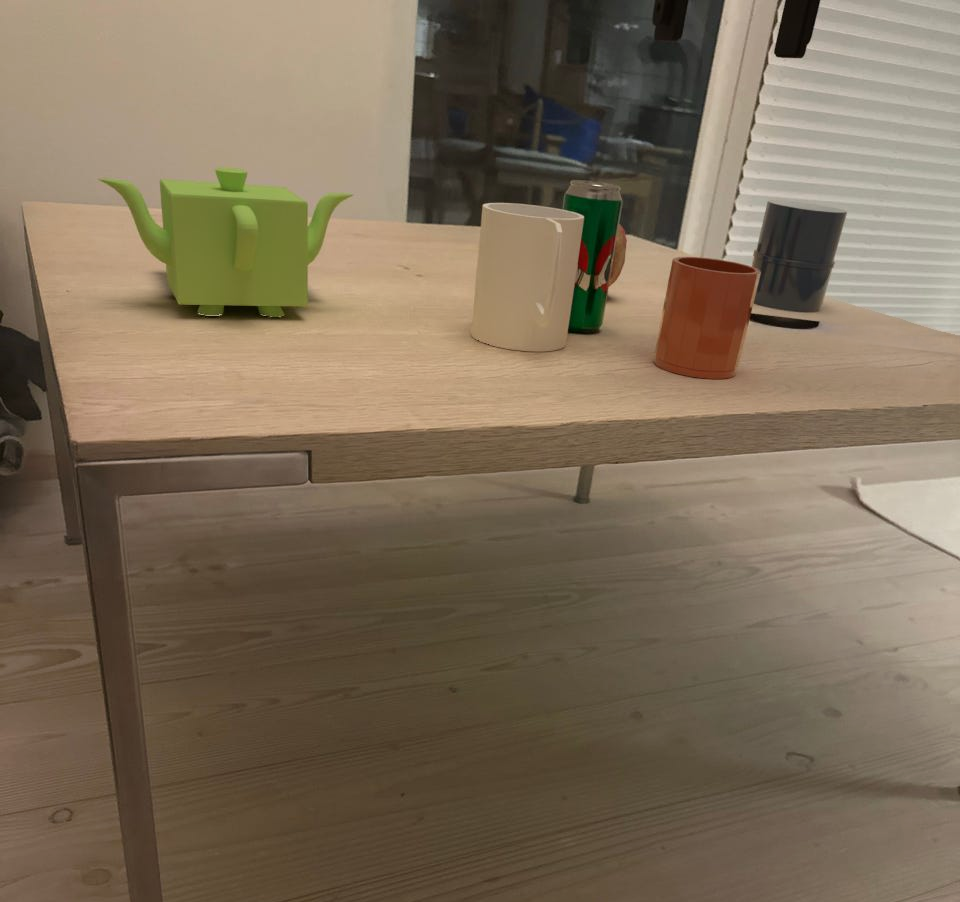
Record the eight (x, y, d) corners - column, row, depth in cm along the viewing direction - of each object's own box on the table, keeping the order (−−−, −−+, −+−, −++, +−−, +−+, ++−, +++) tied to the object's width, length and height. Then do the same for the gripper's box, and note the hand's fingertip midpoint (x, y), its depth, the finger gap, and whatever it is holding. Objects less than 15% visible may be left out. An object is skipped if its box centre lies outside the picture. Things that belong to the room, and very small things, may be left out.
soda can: (592, 322, 88) (615, 182, 81) (608, 335, 83) (632, 189, 77) (541, 319, 86) (559, 177, 80) (554, 332, 82) (574, 184, 76)
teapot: (109, 305, 75) (93, 158, 69) (204, 282, 86) (197, 154, 80) (275, 337, 71) (273, 185, 66) (352, 309, 82) (355, 176, 77)
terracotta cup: (729, 361, 79) (752, 263, 75) (741, 383, 74) (767, 277, 69) (650, 352, 80) (669, 253, 75) (657, 372, 74) (678, 267, 70)
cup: (494, 362, 72) (509, 222, 66) (461, 324, 81) (472, 200, 76) (593, 366, 74) (615, 230, 68) (550, 328, 83) (566, 207, 78)
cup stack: (808, 315, 102) (838, 206, 96) (826, 332, 95) (860, 216, 89) (732, 306, 102) (758, 197, 96) (745, 322, 95) (773, 205, 89)
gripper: (696, -337, 51) (638, 33, 60) (953, -269, 56) (864, 64, 64) (641, -296, 57) (596, 34, 66) (877, -238, 62) (805, 63, 70)
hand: (728, 49), depth 65 cm, fingers open, 9 cm apart
